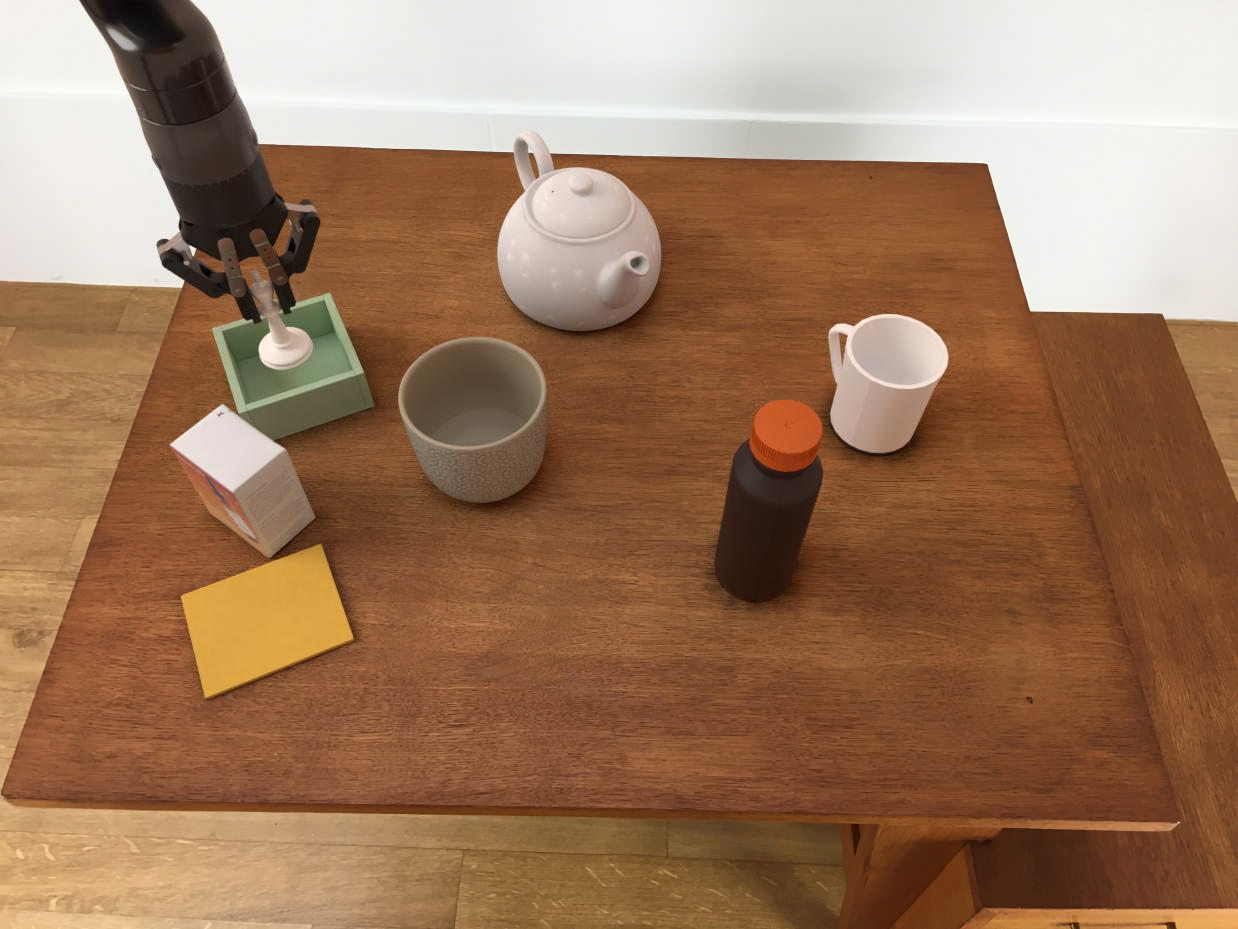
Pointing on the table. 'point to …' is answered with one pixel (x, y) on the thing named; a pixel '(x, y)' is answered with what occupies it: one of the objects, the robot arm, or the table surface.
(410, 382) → the planter
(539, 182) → the teapot
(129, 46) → the robot arm
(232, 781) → the table surface
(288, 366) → the chess piece
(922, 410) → the mug
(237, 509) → the small box
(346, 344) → the sage bin
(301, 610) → the ochre mat
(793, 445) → the bottle
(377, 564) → the table surface
